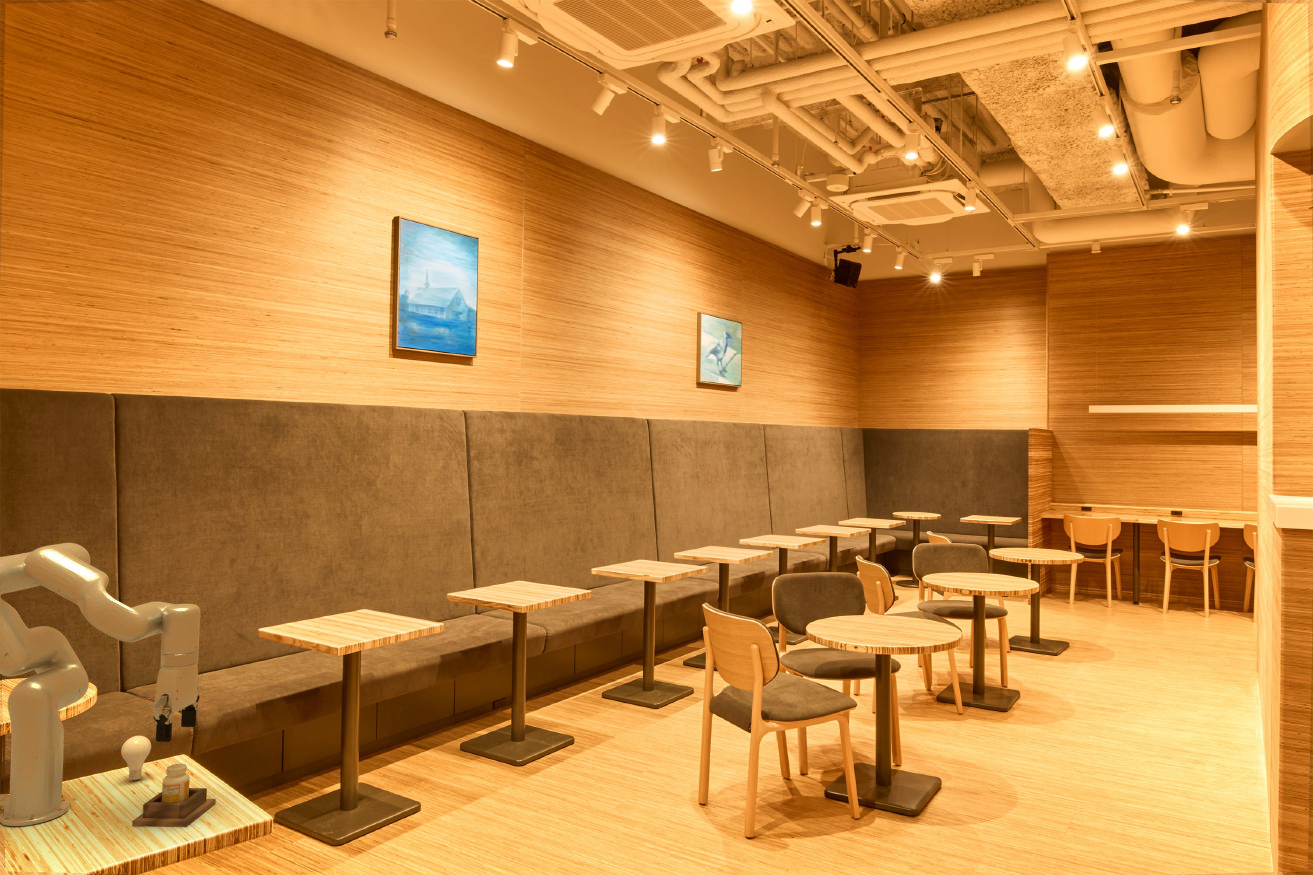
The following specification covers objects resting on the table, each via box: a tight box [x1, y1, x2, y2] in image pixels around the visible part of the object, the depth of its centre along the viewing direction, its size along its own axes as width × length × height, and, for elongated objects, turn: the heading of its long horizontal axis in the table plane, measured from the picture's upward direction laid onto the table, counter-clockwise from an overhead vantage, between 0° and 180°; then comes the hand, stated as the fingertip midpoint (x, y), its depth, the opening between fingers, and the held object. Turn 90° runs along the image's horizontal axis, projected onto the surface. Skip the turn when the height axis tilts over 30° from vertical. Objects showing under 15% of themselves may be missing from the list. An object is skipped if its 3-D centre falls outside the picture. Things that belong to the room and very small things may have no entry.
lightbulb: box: [120, 735, 152, 782], centre depth 204 cm, size 6×6×11 cm
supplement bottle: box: [161, 763, 191, 803], centre depth 185 cm, size 5×5×10 cm
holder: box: [131, 787, 217, 828], centre depth 185 cm, size 12×12×4 cm
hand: (176, 733), depth 186 cm, fingers open, 9 cm apart
